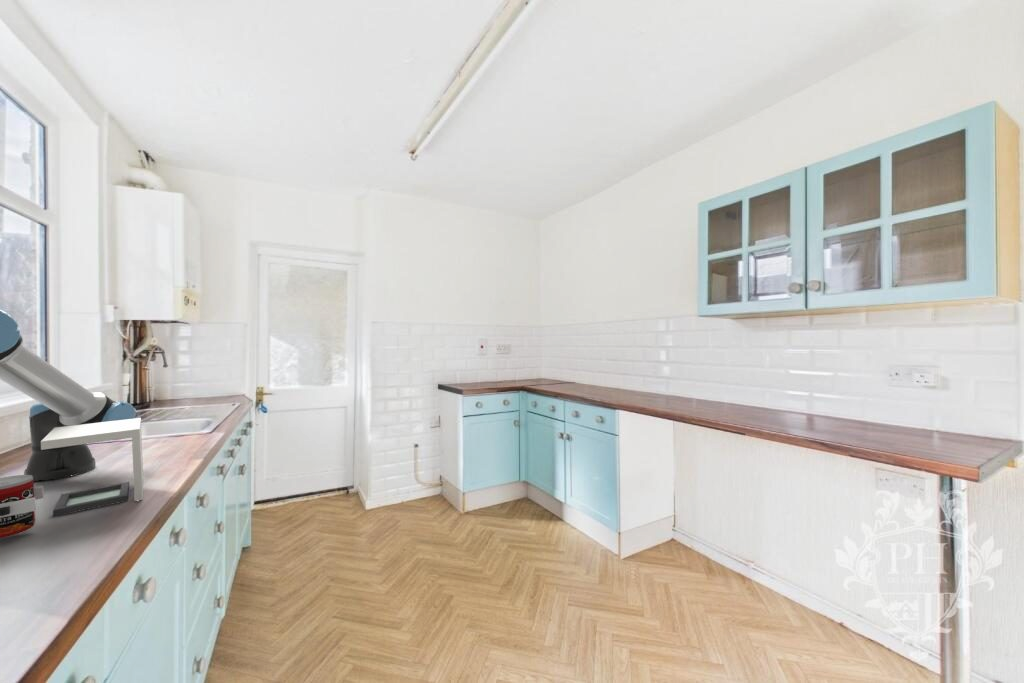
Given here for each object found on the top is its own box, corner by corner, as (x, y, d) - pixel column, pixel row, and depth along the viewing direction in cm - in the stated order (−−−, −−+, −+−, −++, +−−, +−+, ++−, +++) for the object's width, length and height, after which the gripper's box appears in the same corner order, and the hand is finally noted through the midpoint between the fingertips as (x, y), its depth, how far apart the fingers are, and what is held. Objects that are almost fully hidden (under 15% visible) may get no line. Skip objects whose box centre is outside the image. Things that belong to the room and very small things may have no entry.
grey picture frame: (53, 516, 98) (52, 510, 98) (61, 499, 108) (61, 494, 108) (127, 500, 107) (126, 495, 107) (129, 486, 116) (128, 481, 116)
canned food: (-18, 544, 82) (-21, 490, 82) (-24, 534, 86) (-27, 483, 86) (39, 528, 89) (37, 478, 88) (31, 519, 93) (29, 472, 93)
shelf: (44, 521, 96) (40, 441, 95) (57, 497, 109) (54, 427, 108) (142, 500, 107) (139, 428, 106) (143, 481, 120) (140, 417, 120)
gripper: (-120, 532, 83) (48, 499, 98) (-180, 578, 68) (30, 531, 83) (-122, 496, 83) (46, 469, 98) (-184, 534, 67) (28, 495, 83)
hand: (39, 497), depth 90 cm, fingers closed on canned food, 8 cm apart
